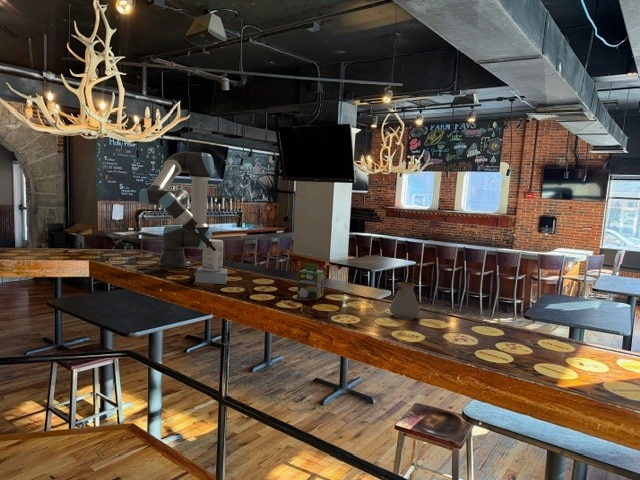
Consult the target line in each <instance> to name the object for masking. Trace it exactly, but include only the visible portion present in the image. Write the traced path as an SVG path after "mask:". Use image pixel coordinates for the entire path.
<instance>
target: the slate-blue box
mask: <svg viewBox="0 0 640 480" xmlns="http://www.w3.org/2000/svg"><path fill="white" fill-rule="evenodd" d="M194 278H195V280H194V283H195V284H215V285H218V284H219V285H226V284H227V280H228V268H222V270H221V271H218V272H209V271H204V270H203V269H202V267H198V268H197V269H196V271H195V277H194Z"/></svg>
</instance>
